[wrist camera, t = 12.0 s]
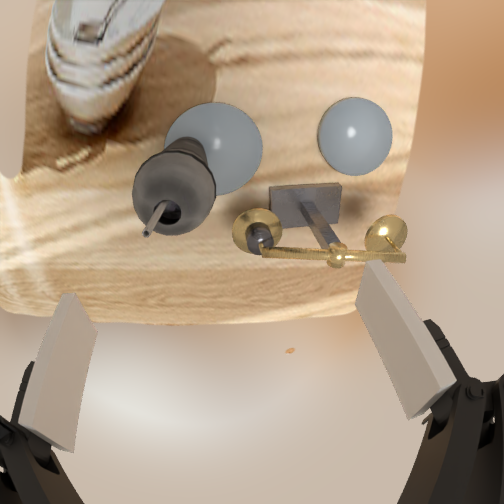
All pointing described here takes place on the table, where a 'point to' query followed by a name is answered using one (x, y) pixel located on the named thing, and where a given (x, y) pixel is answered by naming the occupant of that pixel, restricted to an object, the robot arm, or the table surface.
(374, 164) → the dish light side
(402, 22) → the table surface
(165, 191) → the beverage cup
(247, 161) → the grey flat disc
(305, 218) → the balance
